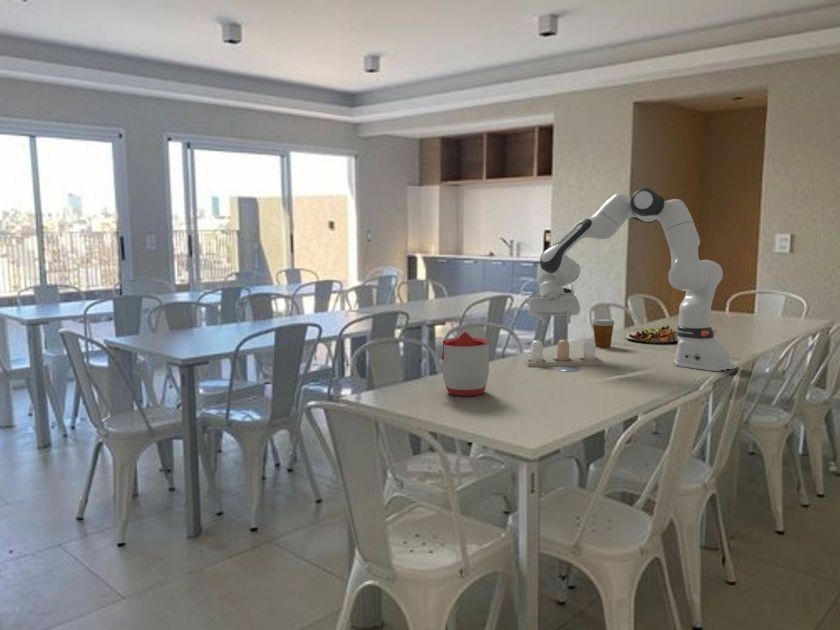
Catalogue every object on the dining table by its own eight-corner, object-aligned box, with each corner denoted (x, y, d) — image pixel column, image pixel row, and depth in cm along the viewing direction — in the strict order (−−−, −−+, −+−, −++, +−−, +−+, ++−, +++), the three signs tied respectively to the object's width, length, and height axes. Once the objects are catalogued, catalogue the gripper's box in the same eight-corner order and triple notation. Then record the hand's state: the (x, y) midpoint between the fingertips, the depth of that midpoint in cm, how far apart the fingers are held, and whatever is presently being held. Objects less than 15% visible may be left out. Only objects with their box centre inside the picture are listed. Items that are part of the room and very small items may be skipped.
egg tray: (598, 363, 270) (598, 357, 269) (604, 367, 262) (604, 361, 261) (523, 365, 269) (523, 359, 268) (526, 369, 261) (526, 363, 260)
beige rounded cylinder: (571, 363, 264) (571, 339, 263) (562, 365, 262) (563, 341, 261) (563, 362, 268) (563, 338, 267) (554, 363, 266) (554, 339, 265)
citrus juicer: (436, 387, 236) (435, 328, 233) (488, 386, 235) (487, 328, 233) (436, 399, 220) (435, 336, 218) (491, 398, 220) (491, 335, 217)
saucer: (584, 373, 253) (584, 369, 253) (567, 376, 249) (567, 372, 249) (568, 369, 260) (568, 366, 260) (552, 372, 256) (552, 369, 256)
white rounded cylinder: (597, 363, 265) (598, 339, 263) (589, 364, 262) (589, 340, 261) (589, 361, 268) (589, 337, 267) (580, 362, 266) (581, 338, 265)
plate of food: (661, 333, 339) (661, 321, 338) (702, 341, 313) (702, 328, 312) (612, 339, 330) (612, 326, 329) (650, 348, 304) (650, 334, 303)
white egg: (545, 364, 264) (545, 340, 263) (536, 365, 262) (536, 341, 261) (537, 362, 268) (537, 338, 267) (528, 364, 265) (528, 340, 264)
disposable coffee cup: (596, 344, 312) (596, 317, 310) (617, 346, 306) (617, 318, 305) (588, 347, 304) (588, 320, 303) (609, 349, 299) (609, 321, 297)
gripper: (526, 291, 280) (531, 318, 272) (577, 289, 281) (583, 317, 272) (524, 300, 285) (529, 328, 277) (574, 299, 286) (580, 327, 277)
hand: (556, 322), depth 274 cm, fingers open, 8 cm apart
